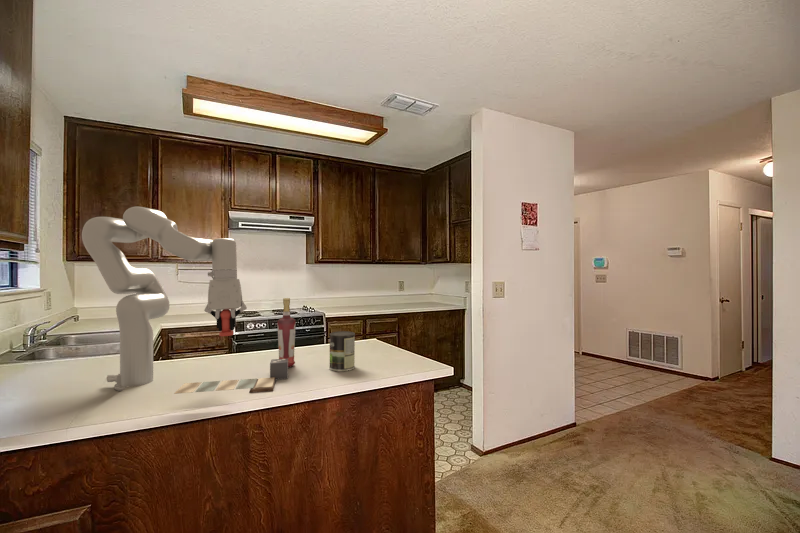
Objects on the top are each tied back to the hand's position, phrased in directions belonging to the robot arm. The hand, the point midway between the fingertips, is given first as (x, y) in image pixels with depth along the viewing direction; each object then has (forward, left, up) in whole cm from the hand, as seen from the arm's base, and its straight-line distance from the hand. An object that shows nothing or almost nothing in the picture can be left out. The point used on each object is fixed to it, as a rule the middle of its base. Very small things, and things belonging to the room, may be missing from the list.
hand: (226, 329), depth 129 cm
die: (+16, +10, -20) cm, 28 cm away
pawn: (0, 0, -2) cm, 2 cm away
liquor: (+18, +25, -20) cm, 37 cm away
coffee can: (+40, +17, -20) cm, 48 cm away
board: (0, 0, -20) cm, 20 cm away
